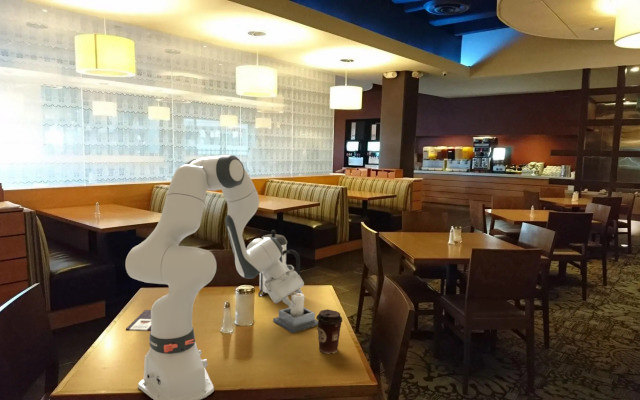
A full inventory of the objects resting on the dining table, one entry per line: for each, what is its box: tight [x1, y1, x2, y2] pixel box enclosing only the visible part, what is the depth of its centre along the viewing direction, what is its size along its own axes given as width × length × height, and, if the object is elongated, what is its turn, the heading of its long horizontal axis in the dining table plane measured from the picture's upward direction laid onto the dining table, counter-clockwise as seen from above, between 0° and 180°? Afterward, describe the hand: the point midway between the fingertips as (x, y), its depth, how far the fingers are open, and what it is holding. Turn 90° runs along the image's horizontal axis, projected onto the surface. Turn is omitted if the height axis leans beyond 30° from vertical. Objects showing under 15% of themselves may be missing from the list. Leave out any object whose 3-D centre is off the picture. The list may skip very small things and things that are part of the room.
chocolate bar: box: [125, 309, 151, 332], centre depth 161 cm, size 9×1×18 cm
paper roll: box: [290, 292, 305, 317], centre depth 162 cm, size 5×5×10 cm
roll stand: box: [272, 306, 318, 334], centre depth 162 cm, size 13×13×5 cm
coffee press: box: [257, 229, 301, 297], centre depth 195 cm, size 17×16×30 cm
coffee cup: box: [315, 309, 343, 355], centre depth 141 cm, size 9×8×13 cm
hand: (298, 303), depth 161 cm, fingers open, 7 cm apart
